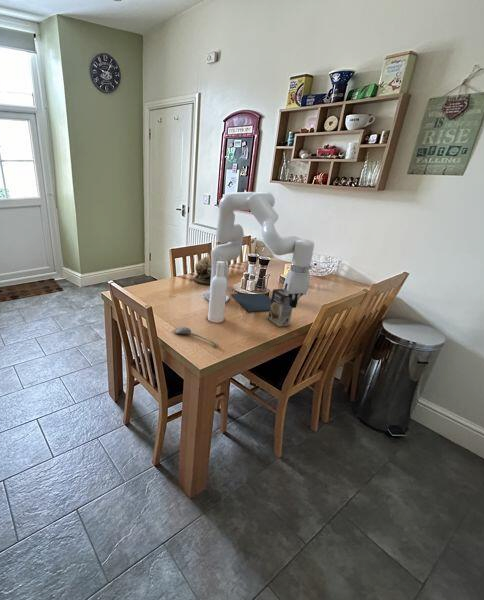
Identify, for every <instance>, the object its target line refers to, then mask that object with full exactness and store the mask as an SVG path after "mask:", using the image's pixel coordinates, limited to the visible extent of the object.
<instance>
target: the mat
mask: <svg viewBox="0 0 484 600" xmlns="http://www.w3.org/2000/svg"><path fill="white" fill-rule="evenodd" d="M248 293H249V292H244V293H232V294H230V296H231V297H232V298H233V299H234V300H235V301H236V302H237V303H238V304H240V306H241V307H243V309H245V310H246V312H247V313H256V312H259V313H260V312H269V311H270V305H271V299H272V298H270V297H269V296H268V295H266V294H265V293H264V294H248Z"/></svg>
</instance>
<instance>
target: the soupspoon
mask: <svg viewBox="0 0 484 600" xmlns="http://www.w3.org/2000/svg"><path fill="white" fill-rule="evenodd" d="M174 333H175V334H186V335H187V334H188V335H192V336H196V337H198V338H201V339H202V340H205V341H208V342H209V343H210V344H212V345H213V346H214V347H217V346H218V345H219V344H218V343H216V342H214V341H213V340H210V339H208V338H206V337H205V336H204V337H203V336H201V335H198V334H196V333H193V332H192V330H191V328H189V327H185V326H183V327H179V328H177V329H175V331H174Z"/></svg>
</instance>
